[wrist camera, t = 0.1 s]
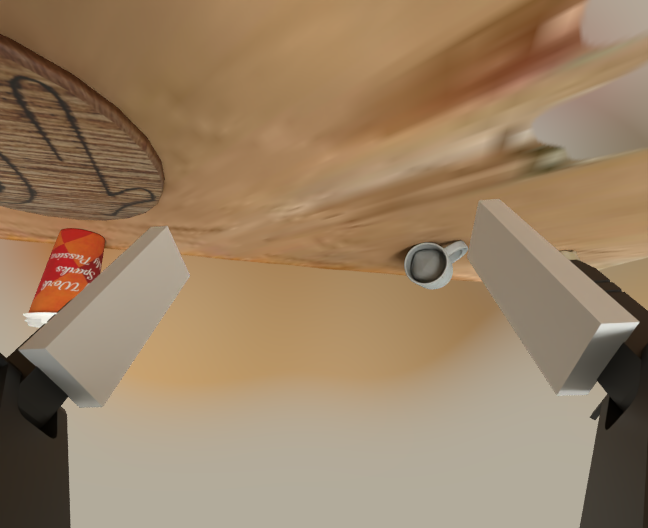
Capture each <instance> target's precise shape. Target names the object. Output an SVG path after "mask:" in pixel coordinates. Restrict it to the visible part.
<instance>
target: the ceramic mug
mask: <svg viewBox="0 0 648 528" xmlns="http://www.w3.org/2000/svg"><path fill="white" fill-rule="evenodd" d="M467 250H468V247H467V245H466V244H465V243H464V242H463V241H457V242H454V243H452V244H450V245H448V246H447V247H445V248H442V247H441V246H439V245H438V244H435V243H430V242H427V243H421V244H418V245H416V246H414V247H413V248H412V249H411V250H410V251H409V252H408V253H407V255H406V257H405V261H404V268H405V272H406V275H407V276H408V278H409V279H410V280H411V281H412V282H414V283H416V284H418V285H420V286H422V287H424V288H427V289H438V288H441V287H443V286H445V285H446V284H447V283H448V282H449V281H450V279H451V277H452V274H453V267H452V263H454V262H455V261H457V260H458V259H460V258H461V257H462V256H463V255H464V254H465V253H466V252H467ZM449 255H450V256H449Z"/></svg>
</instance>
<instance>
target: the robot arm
mask: <svg viewBox="0 0 648 528" xmlns="http://www.w3.org/2000/svg"><path fill="white" fill-rule="evenodd" d="M467 258H468V260H469V261H470V263H471V265H472V266H473V268H474V269H475V271H476V272H477V274H478V275H479V277H480V278H481V280H482V281H483V283H484V284H485V286H486V288H487V289H488V291H489V292H490V294H491V295H492V297H493V298H494V300H495V301H496V303H497V304H498V306H499V308H500V309H501V311H502V312H503V314H504V315H505V317H506V318H507V320H508V321H509V323H510V324H511V326H512V327H513V329H514V331H515V332H516V334H517V335H518V337H519V338H520V340H521V341H522V343H523V344H524V346H525V347H526V349H527V350H528V352H529V354H530V355H531V357H532V358H533V360H534V361H535V363H536V364H537V366H538V368H539V369H540V371H541V372H542V374H543V375H544V377H545V378H546V380H547V381H548V383H549V384H550V386H551V387H552V389H553V390H554V392H555V394H556V395H557V396H560V395H587V394H588V393H589V392H590V390H591V389H592V388H593V386H594V385H595V383H596V382H597V381H598V382H599V383H600V385H601V386H602V387H603V388H604V390H605V391H606V392H607V393H608V394H607V395H606V397H605V398H604V399H603V400H602V402H601V403H600V404H599V405H598V407H597V408H596V409H595V410H594V412H593V413H592V415H591V416H590V418H592V419H594V420H596V419H597V417H598V416H599V415H600V417H599V422H598V428H597V434H596V439H595V445H594V450H593V456H592V462H591V467H590V473H589V478H588V484H587V490H586V495H585V501H584V506H583V512H582V517H581V523H580V528H648V311H647V310H646V309H645V308H643V307H642V306H641V305H640V304H639V303H637V302H636V301H635V300H634V299H632V298H631V297H630V296H629V295H628V294H626V293H625V292H622V291H621V289H620V288H619V287H618V286H617V285H615V284H614V283H612V282H610V280H609V279H608V278H607V277H606V276H604V275H603V274H602V273H600V272H599V271H598V270H597V269H596V268H594V267H592V266H590V265H587V264H585V263H583V262H581V261H579V260H577V259H576V260H568V259H567V258H566V257H565V256H564V255H563V254H561V253H560V252H559V251H558V250H557V249H556V248H555V247H553V246H552V245H551V244H550V243H549V242H548V241H547V240H545V239H544V238H543V237H542V236H541V235H540V234H539V233H537V232H536V231H535V230H534V229H533V228H532V227H531V226H529V225H528V224H527V223H526V222H525V221H524V220H523V219H521V218H520V217H519V216H518V215H517V214H516V213H515V212H513V211H512V210H511V209H510V208H509V207H508V206H507V205H505V204H504V203H503V202H502V201H501V200H500V199H491V200H479V203H478V207H477V212H476V217H475V222H474V227H473V231H472V236H471V241H470V246H469V251H468V255H467ZM189 277H190V274H189V272H188V270H187V268H186V266H185V263H184V261H183V259H182V257H181V255H180V252H179V250H178V248H177V246H176V244H175V241H174V239H173V237H172V235H171V233H170V231H169V228H168V226H159V227H151V228H149V229H148V230H147V231H146V232H145V233H144V234H143V235H142V236H141V237H140V238H139V239H137V240H136V241H135V242H134V243H133V244H132V245H131V246H130V247H129V248H128V249H127V250H126V251H124V252H123V254H121V255H120V256H119V257H118V258H117V259H116V260H115V261H114V262H113V263H111V265H109V266H108V267H107V268H106V269H105V270H104V271H103V272H102V273H101V274H99V275H98V276H97V277H96V278H95V279H94V280H93V281H92V282H91V283H90V284H89V285H88V286H86V287H85V288H84V289H83V290H82V291H81V292H80V293H79V294H78V295H77V296H76V297H75V298H73V299H72V300H70V301H69V302H67V303H66V304H65V305H64V306H63V307H62V308H61V309H60V310H59V311H58V312H57V314H54V315H53V316H52V317H51V318H50V319H49V320H48V321H47V323H46V324H43V325H42V326H41V327H40V328H39V329H38V330H37V331H36V332H35V333H34V334H33V335H31V336H30V337H29V338H28V339H27V340H26V341H25V342H24V343H23V344H22V345H21V346H20V347H18V348H17V349H16V350H15V351H14V352H13V353H12V354H11V355H10V356H8V357H7V358H6V357H4V356H3V355H2V354H1V353H0V528H70V498H69V466H68V434H67V414H66V411H65V409H63V408H62V407H61V405H62V404H63V402H64V401H65V400H66V399H67V397H69V398H70V399H71V400H72V401H73V402H74V403H75V404H77V405H78V406H79V407H80V408H82V407H103V406H104V404H105V403H106V401H107V400H108V398H109V397H110V395H111V394H112V392H113V391H114V389H115V388H116V386H117V385H118V383H119V382H120V380H121V379H122V377H123V376H124V374H125V373H126V371H127V369H128V368H129V367H130V365H131V364H132V362H133V361H134V359H135V358H136V356H137V355H138V353H139V352H140V350H141V349H142V347H143V346H144V344H145V343H146V341H147V340H148V338H149V337H150V335H151V334H152V332H153V331H154V329H155V328H156V326H157V325H158V323H159V322H160V320H161V319H162V317H163V316H164V314H165V313H166V311H167V310H168V308H169V307H170V305H171V304H172V302H173V301H174V299H175V298H176V296H177V295H178V293H179V292H180V290H181V289H182V287H183V286H184V284H185V283H186V281H187V280H188V278H189Z"/></svg>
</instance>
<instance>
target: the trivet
mask: <svg viewBox="0 0 648 528" xmlns="http://www.w3.org/2000/svg"><path fill="white" fill-rule="evenodd" d="M164 180H165V178H164V173H163V168H162V162H161V160H160V158H159V156H158V155H157V153H156V151H155V150H154V148H153V147H152V145H151V143H150V142H149V140H148V138H147V137H146V136H145V135H144V134H143V133H142V132H141V131H140V130H139V129H138V128H137V127H136V126H135V125H134V124H133V123H132V122H131V121H130V120H129V119H128V118H127V117H126V116H125V115H124V114H123V113H122V112H121V111H120V109H118V108H117V107H116V106H114V105H113V104H112V103H110V102H109V101H108V100H106V99H105V98H104V97H102V96H101V95H100V94H98V93H97V92H96V91H94V90H93V89H92V88H90V87H89V86H88V85H86V84H85V83H84V82H82V81H81V80H80V79H78V78H77V77H76V76H74V75H73V74H71V73H69V72H68V71H66V70H64V69H62V68H61V67H59V66H57V65H55V64H54V63H52V62H50V61H48V60H47V59H45V58H43V57H41V56H40V55H38V54H36V53H34V52H33V51H31V50H29V49H27V48H26V47H24V46H22V45H21V44H19V43H17V42H15V41H14V40H12V39H10V38H8V37H6V36H3V35H1V34H0V206H3V207H6V208H10V209H15V210H20V211H25V212H30V213H35V214H40V215H45V216H52V217H60V218H68V219H76V220H115V219H124V218H130V217H133V216H136V215H140V214H143V213H146V212H147V211H148V210H150V209H151V208H152V207H154V206H155V205H156V204H158V201H159V198H160V196H161V193H162V191H163V185H164Z"/></svg>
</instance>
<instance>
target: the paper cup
mask: <svg viewBox="0 0 648 528" xmlns="http://www.w3.org/2000/svg"><path fill="white" fill-rule="evenodd" d="M104 245H105V239H104V238H103V237H102V236H101V235H99V234H96V233H94V232H90V231H87V230H82V229H74V228H67V229H62V230H61V231H60V233H59V235H58V238H57V240H56V242H55V245H54V248H53V250H52V253H51V255H50V258H49V261H48V263H47V265H46V268H45V271H44V273H43V276H42V279H41V281H40V284H39V286H38V289H37V292H36V294H35V297H34V300H33V302H32V305H31V307H30V310H29V313H26V314H23V315H24V316H25V317H26V318H27V319H26V320H25V321H26V322H28V326H33V327H39V328H40V327H41V326H42V325H43V324H46V323H47V321H48V320H49V319H50V318H51V317H52V316H53V315H54V314H57V312H58V311H59V310H60V309H61V308H62V307H63V306H64V305H65V304H66V303H67V302H69V301H70V300H72V299H73V298H75V297H76V296H77V295H78V294H79V293H80V292H81V291H82V290H83V289H84V288H85V287H86V286H88V285H89V284H90V283H91V282H92V281H93V280H94V279H95V278H96V277H97V276H98V275H99V274H100V271H101V265H102V258H103V252H104Z"/></svg>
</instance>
